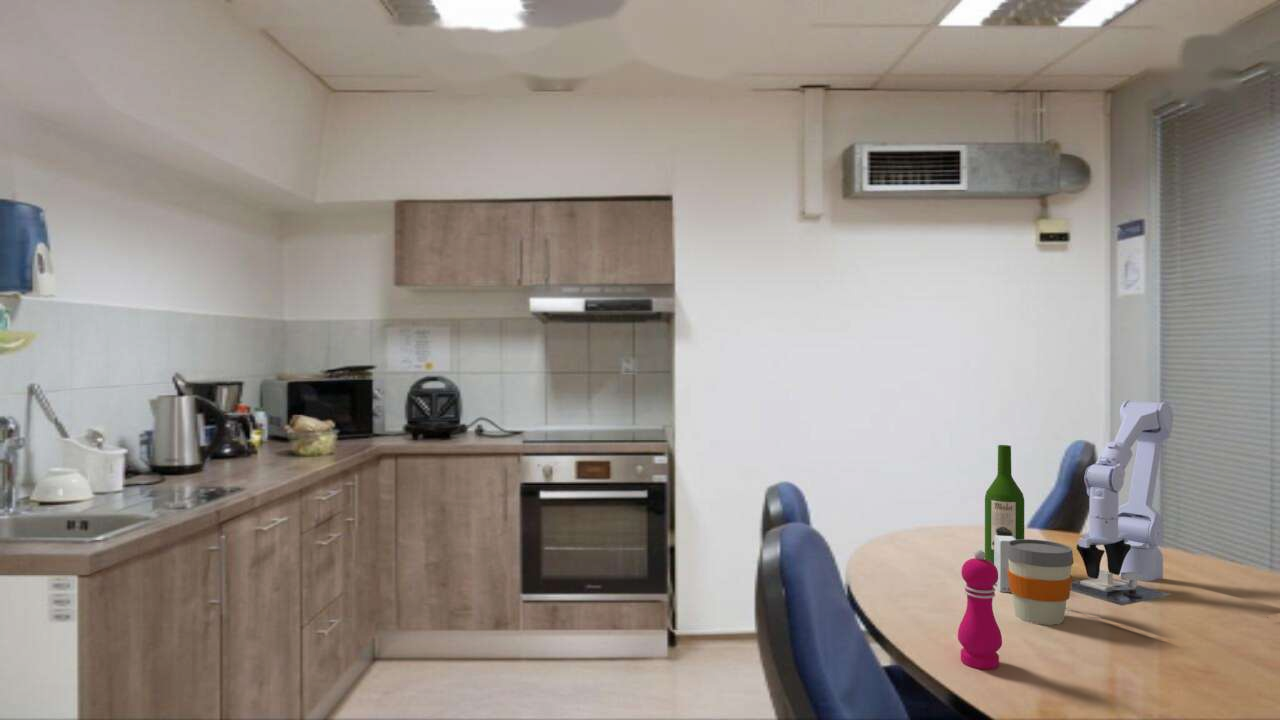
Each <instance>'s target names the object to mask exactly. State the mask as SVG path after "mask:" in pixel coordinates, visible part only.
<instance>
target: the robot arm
mask: <svg viewBox="0 0 1280 720" xmlns="http://www.w3.org/2000/svg"><path fill="white" fill-rule="evenodd" d="M1173 412H1174V411H1173V408H1172V406H1171V405H1170V404H1169V402H1167V401H1162V402H1154V401H1131V400H1125V401H1123V403H1122V404H1121V406H1120V409H1119V419H1120V423H1121V424H1120V426H1119V429H1118V431H1117V433H1116V436H1115V438H1114V440H1113V441H1110V442H1108V443H1106V444H1105V446H1104V448H1103V449H1102V452H1101V453H1100V456H1099V457H1098V459H1097V461H1096V462H1095V463H1094V464H1092V465H1089V466H1088V467H1086V469H1085V473H1084V477H1083V479H1084V480H1083V481H1084V484H1085V487H1086V493H1087V496H1088V497H1089V531H1088V532H1085V536H1082V537H1079V538H1078V544H1076V550H1077V551H1078V553H1079V555H1080V557H1081V559H1082V561H1083V564H1084V568H1085V571H1086V576H1087V577H1088V578H1090V579H1092V578H1095V579H1098V577H1099V570H1100V568H1101V561H1102V558H1103V556H1104V553H1105V554H1106V561H1107V570H1108V572H1110V573H1113V575H1116V576H1119V577H1121V573H1124V572H1143V573H1145V580H1137V582H1153V581H1155V580H1157V579H1161V580H1164V557H1163V553H1162V550H1161V549H1160V548H1159V547H1158V546H1159V545H1161V543H1162V542H1163V540H1164V534H1165V533H1164V532H1165V531H1164V517H1163V516H1162V515H1161V514H1160V512H1159V511H1157V510H1156V509H1155V508H1153V502H1154V495H1155V490H1156V483H1157V477H1158V473H1159V472H1158V470H1159V465H1160V459H1161V453H1162V448H1163V442H1164V441H1166V440H1168V439H1170V438H1171V433H1172V428H1173V424H1174V422H1173V421H1174V413H1173ZM1136 441H1138V442H1137V448H1136V452H1135V453H1136V454H1135V459H1134V465H1133V470H1132V471H1133V472H1132V477H1131V483H1130V489H1129V494H1128V500H1127V502H1126V503H1124V504H1122V505H1120V506H1119V492H1120V491H1121V490H1122V488H1123V487H1124V483H1125V477H1126V471H1125V470H1126V468H1127V467H1128V464H1129V463H1130V461H1131V459H1132V458H1133V455H1134V454H1133V451H1132V449H1131V448H1132V447H1133V446H1134V444H1135V443H1136ZM1098 546H1103V547H1104V549H1099V548H1098Z"/></svg>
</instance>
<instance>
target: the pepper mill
mask: <svg viewBox="0 0 1280 720" xmlns="http://www.w3.org/2000/svg"><path fill="white" fill-rule="evenodd" d="M973 554H974V558H970V559H967V560H966V561H965V562H964V563H963V564H962V566H961V572H960V573H961V577H962V579H963V580H964V582H965V584H964V594H965V595H966V597H967V601H966V602H967V603H966V609H965V613H964V616H963V617H962V620H961V622H960V624H959V627H958V631H957V640H958V642H959V643H960V644H961V646H962V648H961V649H960V661H961V662H962V664H963V665H966V666H967V667H971V668H974V669H977V670H978V669H979V670H995V669H998V668H999V666H1000V654H998V653H997V652H998V651H999V650H1000V649H1001V647H1002V645H1003V636H1002V633H1001V629H1000V627H999V625H998V623H997V620H996V618H995V615H994V614H995V613H994V609H993V599H994V598H995V597H996V592H995V591H996V587H995V584H997V581H998V570H997V568H996V566H995V565H994V564H993V563H992V562H990V561H988V560H986V559H985V551H983V550H981V549H977V550H975V551H974V553H973Z"/></svg>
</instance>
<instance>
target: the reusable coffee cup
mask: <svg viewBox="0 0 1280 720" xmlns="http://www.w3.org/2000/svg"><path fill="white" fill-rule="evenodd" d="M1006 557H1007V558H1008V563H1009V568H1008V569H1007V572H1008V579H1009V587H1010V591H1011V592H1010V593H1011V594H1012V599H1013V607H1014V608H1013V609H1014V615H1015V617H1016V618H1017V617H1018V619H1019V618H1020V620H1021V619H1022V621H1024V622H1026V621H1028V622H1027V623H1030V622H1032V623H1031V624H1035V623H1037V624H1036V625H1041V624H1047V625H1046V626H1054V625H1053V624H1058V625H1061V624H1060V623H1062V622H1065V621H1064V619H1065V612H1066V605H1067V601H1068V600H1069V599H1070V596H1071V591H1070V589H1071V582H1073V576H1072V575H1071V572H1072V566H1073V565H1074V563H1075V562H1074V554H1073V549H1072V547H1070V546H1068V545H1065V544H1063V543H1059V542H1054V541H1049V540H1043V539H1030V538H1029V539H1028V538H1024V539H1018V540H1011V541H1008V543H1007V550H1006ZM1062 624H1063V623H1062Z"/></svg>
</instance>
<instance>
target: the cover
mask: <svg viewBox="0 0 1280 720" xmlns="http://www.w3.org/2000/svg"><path fill="white" fill-rule="evenodd" d="M1088 579H1089V580H1086V579H1083V580H1084V581H1081V580H1079V581H1080V584H1083V585H1087V586H1090V587H1094V588H1097V589H1101V590H1104V591H1108V590H1114V589H1112V586H1122V585H1128V584H1127V583H1128V582H1127V583H1123V582H1124V581H1123V582H1119V581H1120V580H1119V581H1115V580H1116V579H1115V580H1113V579H1114V574H1113V573H1110V572H1109V571H1106V570H1099V577H1098V579H1092V578H1088Z"/></svg>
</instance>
